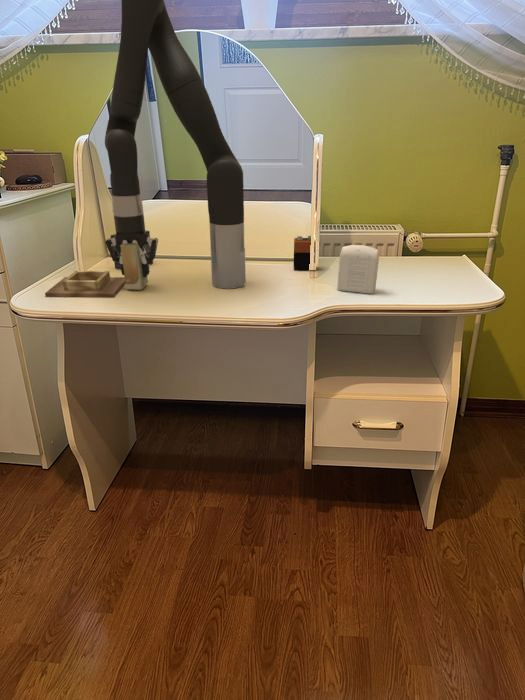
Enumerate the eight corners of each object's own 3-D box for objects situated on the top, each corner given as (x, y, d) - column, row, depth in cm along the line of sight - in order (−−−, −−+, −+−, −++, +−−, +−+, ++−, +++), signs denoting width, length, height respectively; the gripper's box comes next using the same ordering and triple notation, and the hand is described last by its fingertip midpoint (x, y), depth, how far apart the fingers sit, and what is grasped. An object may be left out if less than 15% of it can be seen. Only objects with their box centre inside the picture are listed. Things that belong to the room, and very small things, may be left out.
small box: (139, 260, 167) (136, 227, 162) (154, 263, 163) (150, 230, 159) (113, 268, 159) (109, 234, 154) (128, 271, 156) (123, 237, 151)
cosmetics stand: (127, 280, 148) (126, 268, 146) (113, 297, 135) (112, 284, 133) (65, 280, 148) (63, 268, 146) (45, 296, 135) (43, 284, 134)
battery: (316, 271, 156) (317, 238, 152) (293, 271, 156) (294, 238, 152) (315, 267, 160) (316, 234, 156) (293, 266, 160) (294, 234, 156)
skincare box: (133, 282, 145) (128, 238, 140) (148, 282, 144) (144, 239, 139) (125, 289, 139) (119, 244, 134) (140, 290, 139) (135, 245, 133)
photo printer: (376, 290, 140) (380, 244, 135) (374, 295, 136) (379, 249, 131) (338, 286, 143) (341, 242, 138) (335, 291, 139) (338, 245, 134)
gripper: (159, 209, 136) (164, 272, 144) (105, 210, 137) (113, 272, 144) (152, 215, 130) (159, 280, 137) (96, 215, 130) (105, 280, 137)
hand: (135, 276), depth 140 cm, fingers closed on skincare box, 4 cm apart
